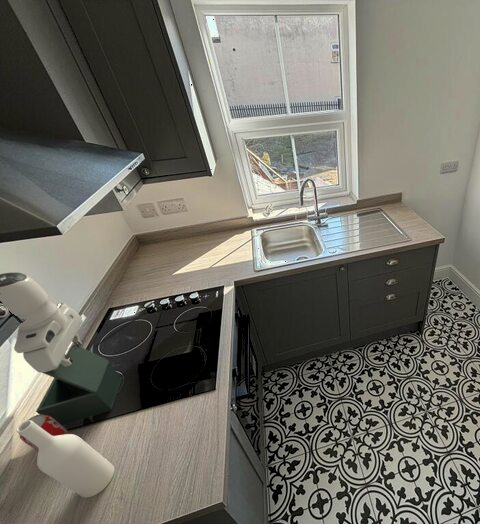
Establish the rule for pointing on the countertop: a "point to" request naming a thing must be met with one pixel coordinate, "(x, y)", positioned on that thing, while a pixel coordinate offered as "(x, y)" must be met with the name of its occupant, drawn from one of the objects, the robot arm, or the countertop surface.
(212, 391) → the countertop surface
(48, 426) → the soda can
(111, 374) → the bin
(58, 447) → the bottle
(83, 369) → the bin lid
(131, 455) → the countertop surface
